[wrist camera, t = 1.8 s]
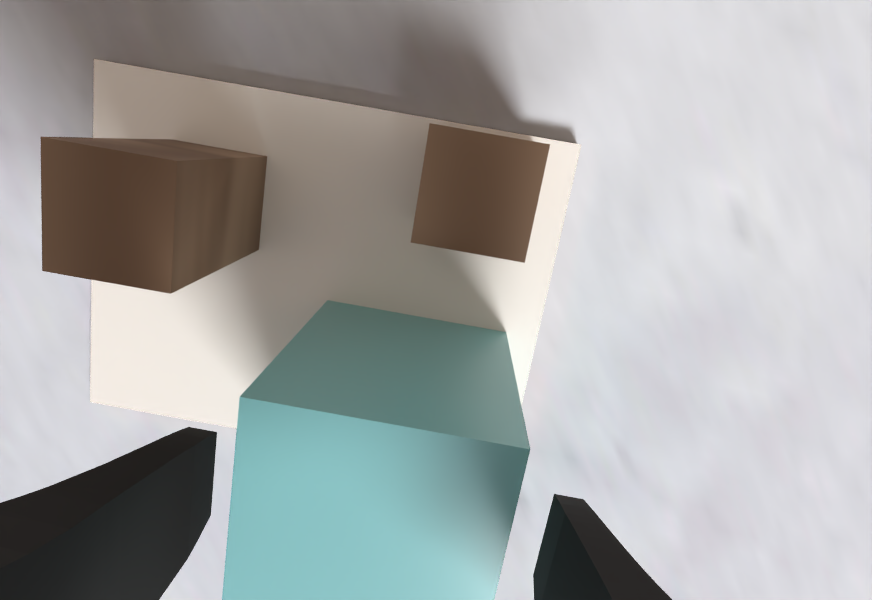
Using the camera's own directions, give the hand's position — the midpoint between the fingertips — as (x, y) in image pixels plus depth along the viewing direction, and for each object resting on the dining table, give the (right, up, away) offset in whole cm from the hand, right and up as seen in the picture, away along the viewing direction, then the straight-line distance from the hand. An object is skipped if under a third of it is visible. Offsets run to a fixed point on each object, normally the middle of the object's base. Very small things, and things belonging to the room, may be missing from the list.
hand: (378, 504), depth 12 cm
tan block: (+2, +7, +3) cm, 8 cm away
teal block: (0, +1, +5) cm, 5 cm away
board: (-2, +5, +5) cm, 7 cm away
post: (-5, +7, +4) cm, 9 cm away
